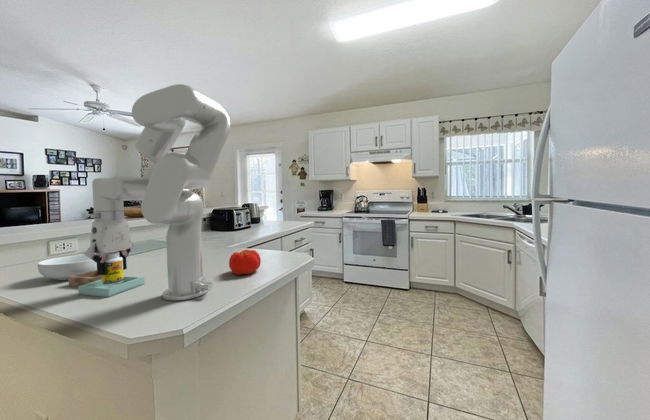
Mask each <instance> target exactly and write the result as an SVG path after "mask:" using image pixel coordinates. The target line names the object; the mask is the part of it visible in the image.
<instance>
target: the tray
mask: <svg viewBox="0 0 650 420" xmlns="http://www.w3.org/2000/svg"><path fill="white" fill-rule="evenodd" d="M143 285H145V276H133V275H124V281H123V282H122V283H120V284H116V285H110V286H105V285H103V284H102V280H98V281H95V282H92V283H88V284H85V285H81V286H77V292H78V293H77V294H78V295H82V296H91V297H93V296H94V297H102V298H103V297H105V298H111V297H114V296H117V295H119V294H121V293H124V292H127V291H129V290H133V289H136V288H138V287H141V286H143Z"/></svg>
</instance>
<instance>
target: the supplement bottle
mask: <svg viewBox="0 0 650 420" xmlns="http://www.w3.org/2000/svg"><path fill="white" fill-rule="evenodd" d="M119 256H120V254H119V251H116V252H111V253H107V256H106V259H105V262H107V270H108V274H107V275H102V284H103V285H105V286H110V285H116V284H120V283H122V282H123V281H124V276H125V274H124V270H123V258H122V257H119Z"/></svg>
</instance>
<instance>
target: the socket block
mask: <svg viewBox="0 0 650 420" xmlns="http://www.w3.org/2000/svg"><path fill="white" fill-rule="evenodd" d="M68 279H69V280H68V286H69V287H78V286H81V285H85V284H88V283H92V282H95V281H98V280H102V275H98V272H97V269H94V270H93V271H90V272H86V273H82V274H78V275H74V276H70V277H68Z"/></svg>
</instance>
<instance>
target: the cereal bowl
mask: <svg viewBox="0 0 650 420" xmlns="http://www.w3.org/2000/svg"><path fill="white" fill-rule="evenodd" d="M96 269H97V263H95V262H94V261H93V260H92V259H91V258H89V257H88V256H86V255H85V254H83V255H81V254H80V255H70V256H61V257H60V256H58V257H54V258H48V259H45V260H42V261H38V262H37V270H38V273H39V274H40V275H41V276H43V277H45V278H48V279H53V280H54V279H55V280H56V281H69V279H68V277H70V276H74V275H78V274H82V273H86V272H90V271H94V270H96Z"/></svg>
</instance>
